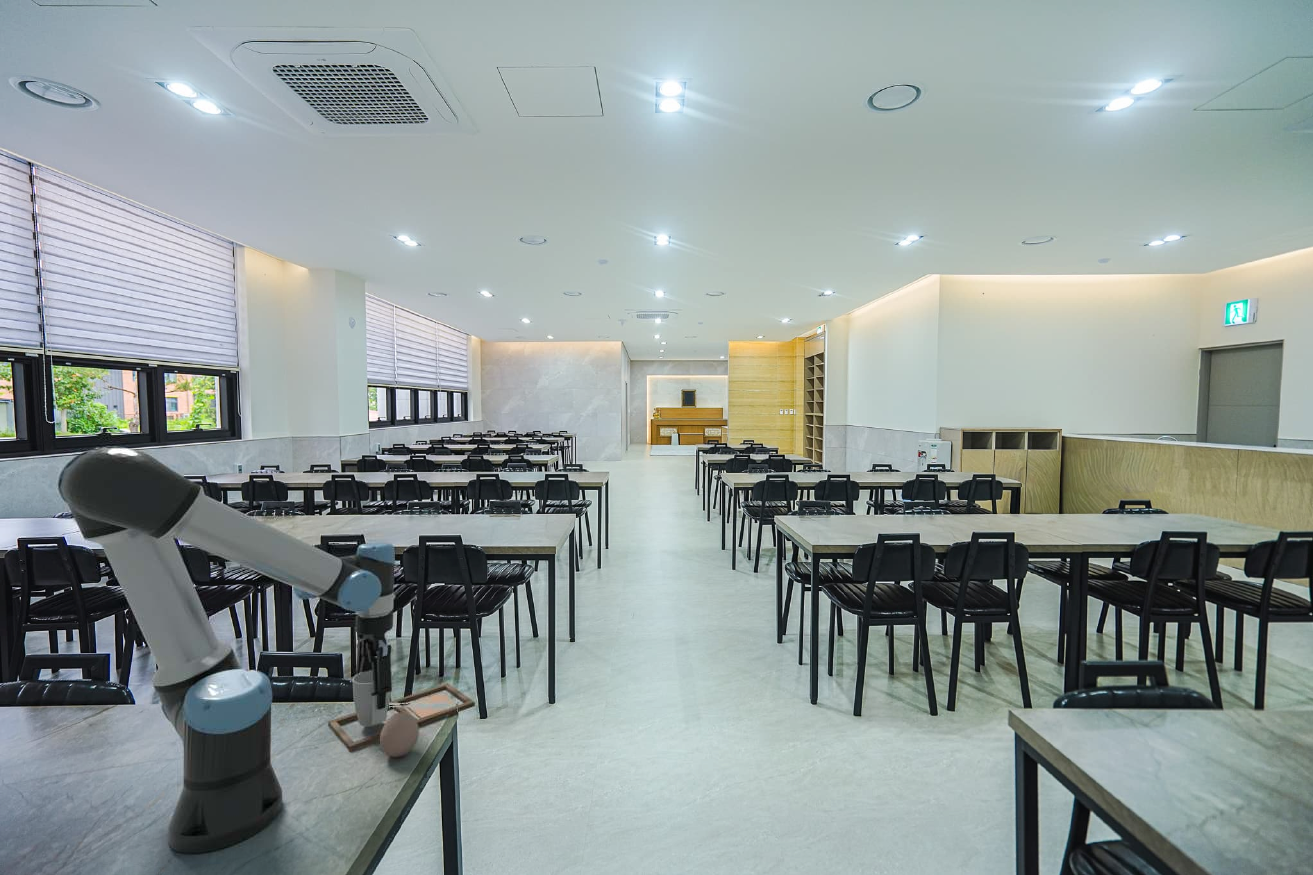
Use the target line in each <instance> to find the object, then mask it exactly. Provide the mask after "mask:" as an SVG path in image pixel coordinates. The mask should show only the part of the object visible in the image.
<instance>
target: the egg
mask: <svg viewBox="0 0 1313 875" xmlns="http://www.w3.org/2000/svg"><path fill="white" fill-rule="evenodd" d="M419 732H420V731H419V726H418V725H417V722H416V721H415V719H414V718H413V717H412V716H411V715H410V714H408V713H405V712H401V713H397V712H396V713H394V714H393V715H392V716H390V717H389V718H388V719H387V720H386V721H385V723H384V725H383V727H382V729H381V731H380V733H381V735H380V741H379V743H380V748H381V750H382V751H383V752H384V753H385V754H386V755H387V756H389V757H392V758H399V757H402V756H405V755H407V754H408V753H410V752H411V751H412V750H413V748H414V747H415V746H416V744H417V742H418V739H419V735H420V733H419Z"/></svg>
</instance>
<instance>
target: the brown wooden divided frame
mask: <svg viewBox="0 0 1313 875" xmlns="http://www.w3.org/2000/svg"><path fill="white" fill-rule="evenodd" d="M443 691H446V692H448V693H449V694H450V695H452V696H453V697H454V698H456V699H457V700H459V701H460V702H461V704H458V712H457V708H456V707H452V708H449V709H446V710H443V711H441V712H438V713H435V714H432V715H429V716H426V717H424V718H421V719H420V718H416V717H415V716H414V715H413V714H412V713H411V712H410V711H408V710H407V708H405V707H403V706H402V704H401V705H389V706H402V707H394V708H392V709H393V710H394V711H395V712H396V711H397V712H398V713H401V712H405V713H408V714H410V715H411V716H412V717H413V718H414V719H415V721H416V722H417V725H418V727H422V726H425V725H427V724H430V723H431V722H435V721H437V720H441V719H443V718H446V717H448V716H447V715H449V716H451V715H455V714H457V713H459V712H462V711H465V710H468V709H471V708H474V707H475V705H476V702H475V701H474V700H473V699H471V698H470V697H468V696H467V695H465V694H464V693H462V692H461V691H459V690H458V689H457V688H455V687H454V686H452V685H451V684H449V683H444V684H440V685H438V686H435V687H432V688H429V689H428V688H427V689H425V690H422V691H420V692H415V693H413V694H409V695H406V696H405V697H401V698H397V699H395V700H390V703H404V704H408V703H411V702H414V701H417V700H420V699H421V698H422V699H423V698H426V697H430V696H433V695H436V694H439V693H442V692H443ZM389 709H390V708H388V710H389ZM397 712H396V713H397ZM445 716H446V717H445ZM356 720H358V718H357V715H356V712H353V713H350V714H346V715H343V716H341V717H337V718H334V719H331V720H328V721H327V724H328V727H329V728H330V729H332V730H331V731H332V732H333V733H334V734H335V736H336V737H337V738H338V740H339V741H341V743H342V744H343V745H344V747H345V748H346V749H347V750H348V751H349V752H352V751H355V750H357V749H360V748H364V747H366V746H368V745H371V744H373V743H374V744H375V743H377V742H380V735H381V732H378V733H376V734H373V735H370V736H368V737H365V738H362V739H359V740H356V741H354V740H353V739H352V738H351V737H350V735H348V734H347V732H346V731H345V730H344V729H343V727H342V726H341V725H343V724H345V723H349V722H352V721H356Z"/></svg>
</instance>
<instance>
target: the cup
mask: <svg viewBox="0 0 1313 875" xmlns="http://www.w3.org/2000/svg"><path fill="white" fill-rule="evenodd" d="M393 681H394V671H393V670H392V669H391V685H392V686H393V684H394V682H393ZM374 692H375V690H374V681H373V672H372V670H370V671H367V672H361V673H359V674H357V675H356V674H355V675H354V676H353V677H352V695H353V697H352V698H353V704H354V710H355V713H356V715H357V718H358V719H357V720H358V723H359V725H360V726H362V727H375V726H377V725H379V724H382V723H383V722H381V723H378V724H375V725H373V724H372V700H373V696H372V695H371V693H374ZM392 693H393V689H392V690H391V691H390V692H387V709H386V715H387V714H388V711H389V709H390V708H389V703H390V701H391V698H392ZM388 708H389V709H388Z"/></svg>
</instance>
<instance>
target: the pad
mask: <svg viewBox="0 0 1313 875" xmlns="http://www.w3.org/2000/svg"><path fill="white" fill-rule="evenodd" d="M420 702H428V703H440V702H444V703H451V702H455V701H454V700H453V699H451V698H450V697H449V696H447V695H446V694H445V693H443V692H439V693H436V694H432V695H429V696H426V697H423V698H422V699H421V698H420V699H417V700H414V701H411V703H420ZM452 707H454V706H452ZM452 707H450V708H452ZM417 708H421V707H407V709H409V710H410V711H411V712H412V713H413V712H414V713H413V714H415V715H416V716H417V717H418V719H421V718H424V717H426V716H429V715H432V714H435V713H438V712H441V711H443V710H446V709H422V708H421V709H417ZM424 708H425V707H424ZM430 708H431V707H430ZM445 708H449V707H445Z"/></svg>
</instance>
